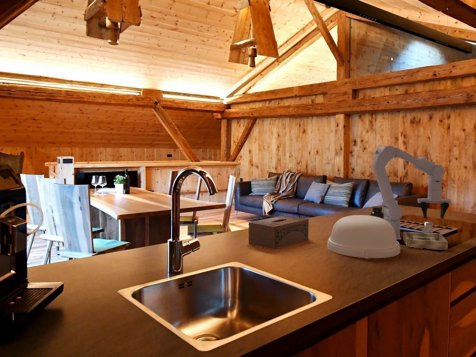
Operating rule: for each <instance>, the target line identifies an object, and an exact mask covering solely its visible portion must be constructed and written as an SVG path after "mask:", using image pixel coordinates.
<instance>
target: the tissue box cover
mask: <svg viewBox="0 0 476 357" xmlns="http://www.w3.org/2000/svg"><path fill="white" fill-rule="evenodd" d="M309 220H310V219H309V218H305V217H299V216H298V217H297V216H290V215H280V216H274V217H269V218H263V219H259V220H254V221H250V222H248V245H252V244H253V245H252V246H256V245H257V246H256V247H260V246H261V248H265V247H266V248H265V249H269V248H270V250H277V249H280V248H283V247H287V246H290V245H293V244H297V243H301V242H304V241H308V240H309V231H310V230H309V229H310V228H309V226H310V225H309V223H310V222H309Z"/></svg>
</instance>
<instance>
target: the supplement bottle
mask: <svg viewBox="0 0 476 357" xmlns="http://www.w3.org/2000/svg"><path fill="white" fill-rule="evenodd" d="M371 210H372V211H371V212H370V213H369V216H375V217H379V218H382V219H384V216H385V215H384V214H383V206H377V205H376V206H372V209H371Z"/></svg>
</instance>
